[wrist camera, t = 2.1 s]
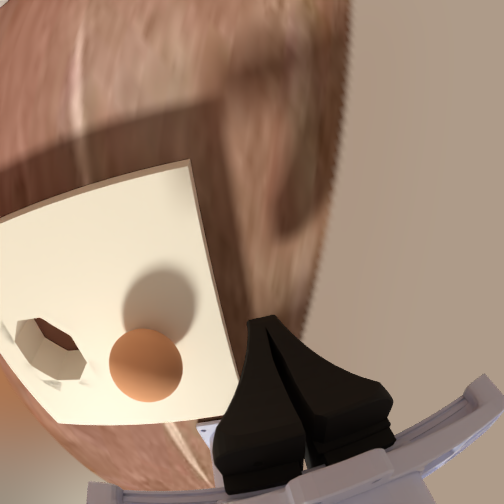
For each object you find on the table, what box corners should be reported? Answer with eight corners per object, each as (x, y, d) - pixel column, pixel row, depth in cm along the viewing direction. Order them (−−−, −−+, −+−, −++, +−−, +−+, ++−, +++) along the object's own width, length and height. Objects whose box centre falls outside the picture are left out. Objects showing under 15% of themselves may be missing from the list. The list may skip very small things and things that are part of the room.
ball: (190, 359, 14) (193, 412, 11) (131, 367, 14) (124, 418, 11) (171, 307, 13) (167, 362, 10) (105, 319, 13) (88, 370, 9)
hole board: (239, 379, 20) (246, 410, 17) (65, 397, 18) (58, 423, 16) (190, 158, 13) (187, 166, 10) (-28, 230, 11) (-53, 249, 9)
